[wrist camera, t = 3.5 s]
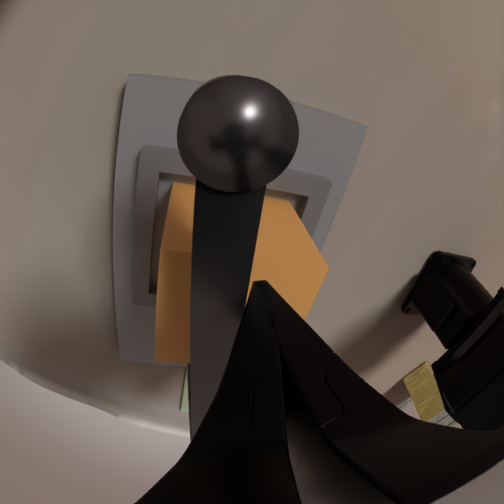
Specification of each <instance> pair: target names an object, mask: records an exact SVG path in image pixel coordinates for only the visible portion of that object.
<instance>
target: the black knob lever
mask: <svg viewBox="0 0 504 504" xmlns="http://www.w3.org/2000/svg"><path fill="white" fill-rule="evenodd" d="M298 140H299V125H298V119H297V116H296V113H295V111H294V108H293V106H292V105H291V103H290V102H289V100H288V99H287V98H286V96H285V95H284V94H283V93H282V92H281V91H280V90H278V89H277V88H276V87H274V86H273V85H271V84H269V83H267V82H265V81H263V80H260V79H257V78H252V77H247V76H240V75H225V76H220V77H217V78H214V79H211V80H209V81H207V82H205V83H204V84H202V85H201V86H200V87H199V88H198V89H196V90H195V91H194V93H193V94H192V95H191V96H190V98H189V99H188V101H187V103H186V105H185V107H184V109H183V112H182V114H181V116H180V119H179V123H178V128H177V145H178V150H179V153H180V156H181V158H182V161H183V163H184V164H185V166H186V167H187V169H188V170H189V171H190V172H191V174H192V175H193V176H195V177H196V179H195V193H194V210H193V228H192V251H191V283H190V363H187V379H188V404H189V423H190V439H191V441H192V439H193V437H194V435H195V433H196V431H197V430H198V428H199V426H200V424H201V422H202V420H203V418H204V416H205V414H206V413H207V411H208V409H209V407H210V405H211V403H212V401H213V398H214V396H215V394H216V392H217V390H218V387H219V384H220V382H221V379H222V376H223V373H224V370H225V367H226V365H227V362H228V359H229V356H230V352H231V349H232V346H233V343H234V340H235V337H236V334H237V331H238V328H239V325H240V322H241V318H242V315H243V312H244V309H245V305H246V299H247V293H248V288H249V282H250V276H251V271H252V265H253V259H254V253H255V248H256V242H257V236H258V230H259V225H260V219H261V213H262V207H263V202H264V196H265V190H266V185H267V184H269V183H270V182H272V181H273V180H275V179H276V178H277V177H278V176H280V175H281V174H282V173H283V171H284V170H285V169H286V168H287V167H288V165H289V164H290V162H291V161H292V159H293V157H294V155H295V152H296V149H297V146H298Z"/></svg>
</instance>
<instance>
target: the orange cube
mask: <svg viewBox="0 0 504 504" xmlns="http://www.w3.org/2000/svg"><path fill="white" fill-rule="evenodd" d="M194 193H195V185H194V184H187V183H180V182H173V186H172V190H171V195H170V200H169V205H168V210H167V215H166V221H165V226H164V231H163V237H162V243H161V249H160V259H159V271H158V285H157V301H156V321H155V353H154V360H155V361H165V362H177V363H190V283H191V251H192V228H193V210H194ZM328 270H329V268H328V266H327V264H326V262H325V261H324V259H323V257H322V255H321V254H320V252H319V250H318V248H317V247H316V245H315V243H314V242H313V240H312V238H311V237H310V235H309V233H308V231H307V230H306V228H305V226H304V225H303V223H302V221H301V220H300V218H299V216H298V215H297V213H296V211H295V210H294V208H293V207H292V205H291V203H290V202H289V200H286V199H280V198H275V197H269V196H264V202H263V207H262V213H261V219H260V225H259V230H258V236H257V242H256V248H255V253H254V259H253V265H252V271H251V276H250V282H249V288H248V293H247V299H246V303H247V300H248V297H249V293H250V290H251V287H252V282H253V281H257V280H267V281H268V283H269V284H270V285H271V286H272V287H273V288H274V289H275V290H276V291H277V292H278V293H279V294H280V295H281V296H282V297H283V298H284V299H285V301H286V302H287V303H288V304H289V305H290V306H291V307H292V308H293V309H294V310H295V311H296V312H297V313H298V314H299V315H300V316H301V317H302V318H303V320H305V318H306V316H307V314H308V312H309V310H310V308H311V306H312V304H313V302H314V300H315V298H316V296H317V294H318V291H319V289H320V287H321V285H322V283H323V281H324V279H325V276H326V274H327V272H328ZM245 306H246V305H245Z"/></svg>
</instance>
